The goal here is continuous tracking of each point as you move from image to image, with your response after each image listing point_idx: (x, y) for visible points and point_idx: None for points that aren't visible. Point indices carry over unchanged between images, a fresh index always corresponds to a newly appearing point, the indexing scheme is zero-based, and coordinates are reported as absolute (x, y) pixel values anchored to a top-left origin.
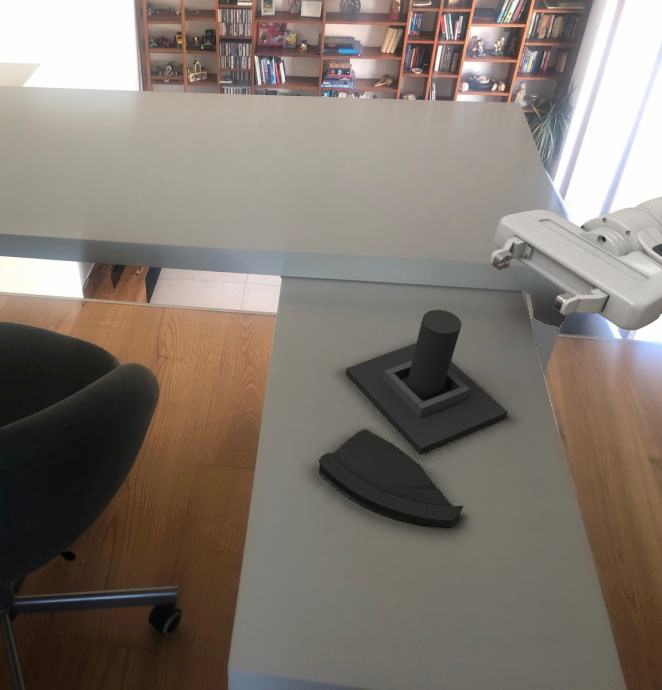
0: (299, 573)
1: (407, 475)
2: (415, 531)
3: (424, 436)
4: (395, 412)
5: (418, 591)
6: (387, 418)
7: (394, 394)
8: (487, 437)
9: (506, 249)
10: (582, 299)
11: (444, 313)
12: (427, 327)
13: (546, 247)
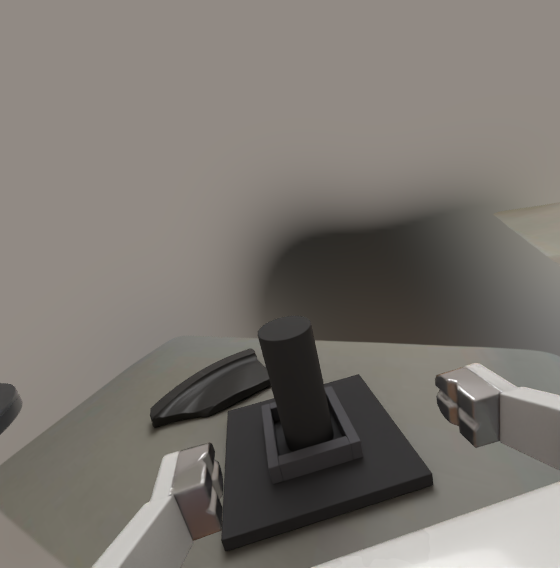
0: (194, 350)
1: (210, 397)
2: None
3: (239, 416)
4: None
5: (138, 392)
6: None
7: None
8: None
9: (507, 390)
10: (141, 512)
11: (299, 330)
12: (278, 318)
13: (535, 500)
